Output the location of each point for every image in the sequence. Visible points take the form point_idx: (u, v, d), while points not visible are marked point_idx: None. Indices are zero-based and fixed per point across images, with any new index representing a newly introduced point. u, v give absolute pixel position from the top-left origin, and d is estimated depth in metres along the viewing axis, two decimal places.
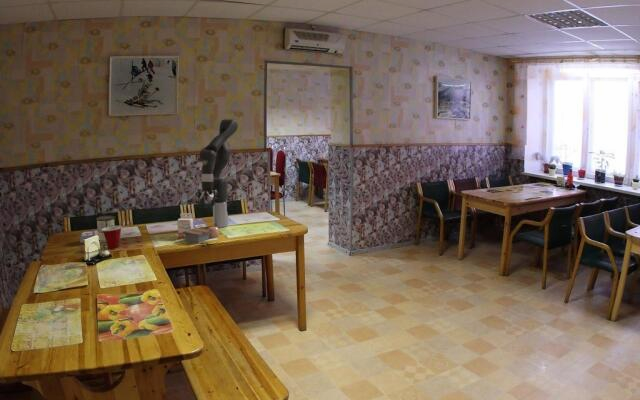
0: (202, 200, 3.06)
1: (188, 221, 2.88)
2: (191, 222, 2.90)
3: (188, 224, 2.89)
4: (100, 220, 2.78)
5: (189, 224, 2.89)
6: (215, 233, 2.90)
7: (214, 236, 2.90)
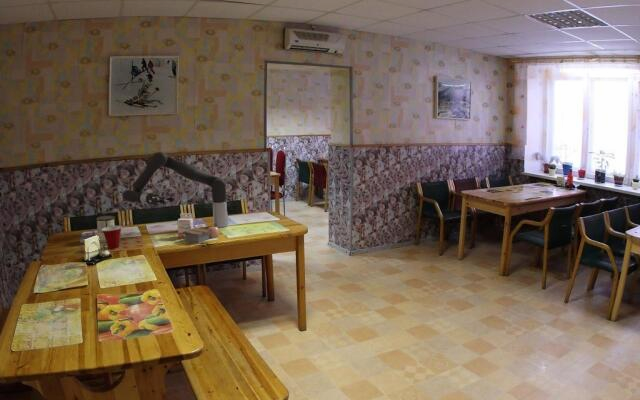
0: (170, 199, 2.98)
1: (188, 221, 2.88)
2: (191, 222, 2.90)
3: (188, 224, 2.89)
4: (100, 220, 2.78)
5: (189, 224, 2.89)
6: (215, 233, 2.90)
7: (214, 236, 2.90)
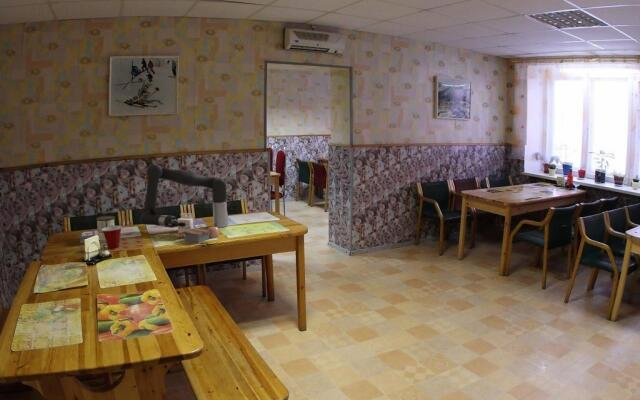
0: None
1: (188, 221, 2.88)
2: (191, 222, 2.90)
3: (188, 224, 2.89)
4: (100, 220, 2.78)
5: (189, 224, 2.89)
6: (215, 233, 2.90)
7: (214, 236, 2.90)
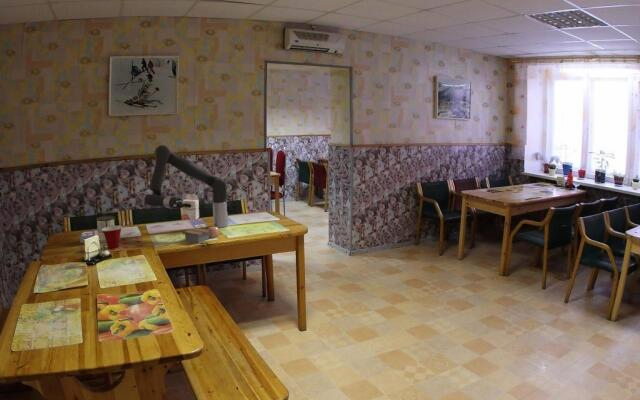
0: None
1: (193, 202, 2.81)
2: (196, 203, 2.82)
3: (193, 205, 2.81)
4: (100, 220, 2.78)
5: (194, 205, 2.81)
6: (215, 233, 2.90)
7: (214, 236, 2.90)
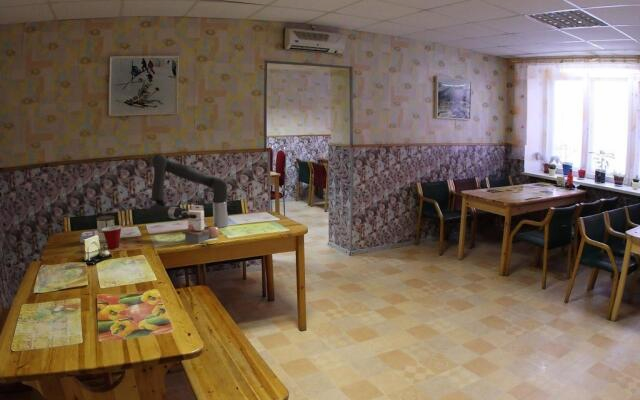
0: None
1: (198, 213, 2.78)
2: (202, 214, 2.80)
3: (198, 216, 2.79)
4: (100, 220, 2.78)
5: (199, 216, 2.79)
6: (215, 233, 2.90)
7: (214, 236, 2.90)
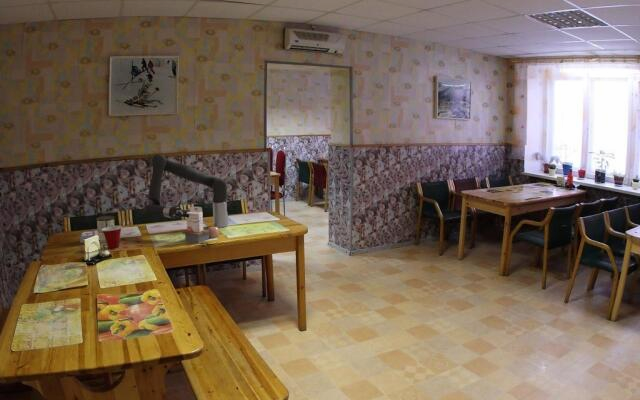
0: None
1: (197, 215, 2.78)
2: (200, 216, 2.79)
3: (197, 218, 2.78)
4: (100, 220, 2.78)
5: (198, 218, 2.78)
6: (215, 233, 2.90)
7: (214, 236, 2.90)
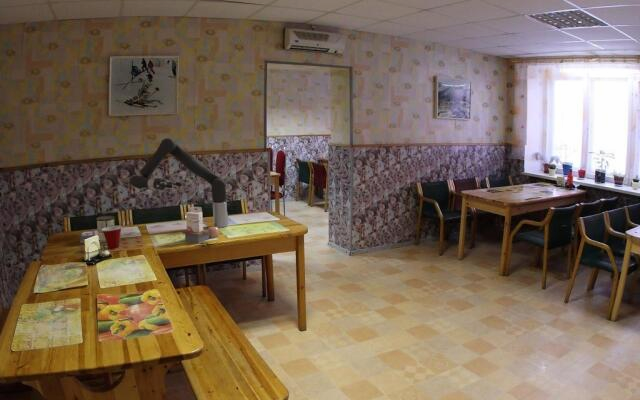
0: (177, 184, 2.97)
1: (196, 215, 2.78)
2: (200, 216, 2.79)
3: (196, 218, 2.78)
4: (100, 220, 2.78)
5: (197, 218, 2.78)
6: (215, 233, 2.90)
7: (214, 236, 2.90)
